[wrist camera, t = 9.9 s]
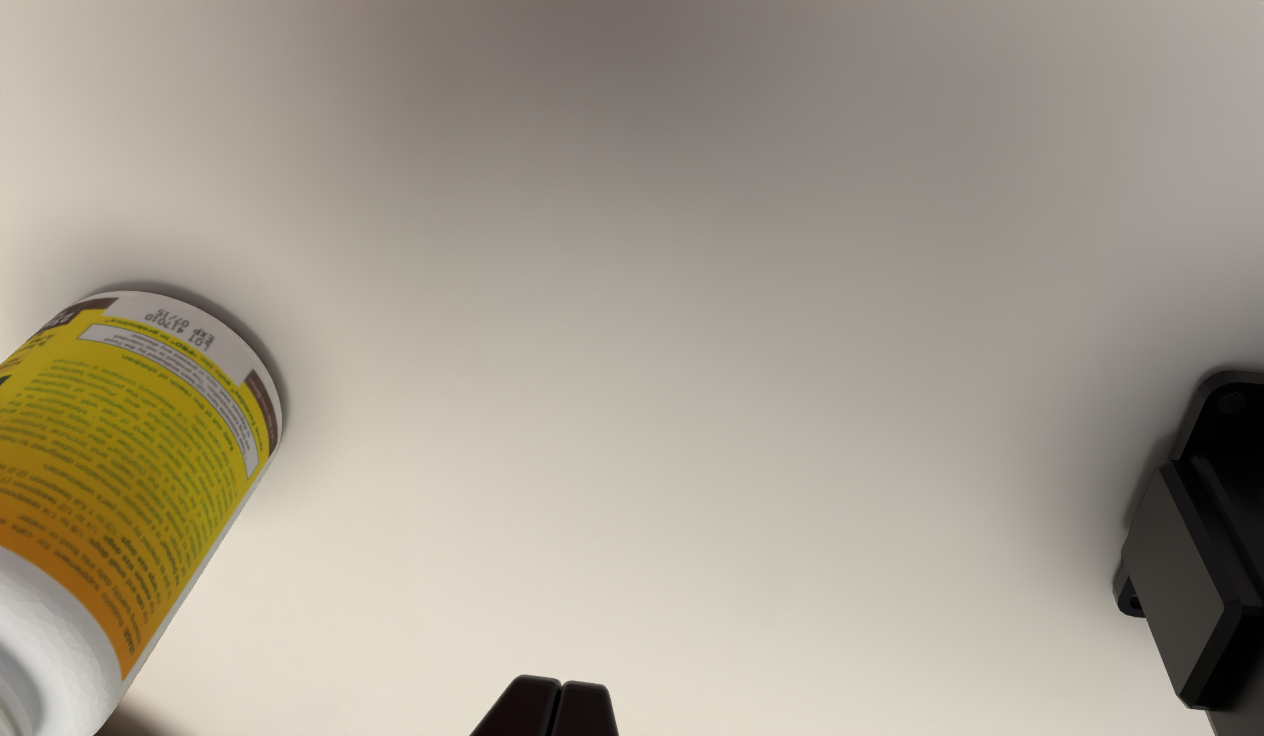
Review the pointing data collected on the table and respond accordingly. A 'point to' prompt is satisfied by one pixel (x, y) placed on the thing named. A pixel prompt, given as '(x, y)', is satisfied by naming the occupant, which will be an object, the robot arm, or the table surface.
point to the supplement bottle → (116, 493)
